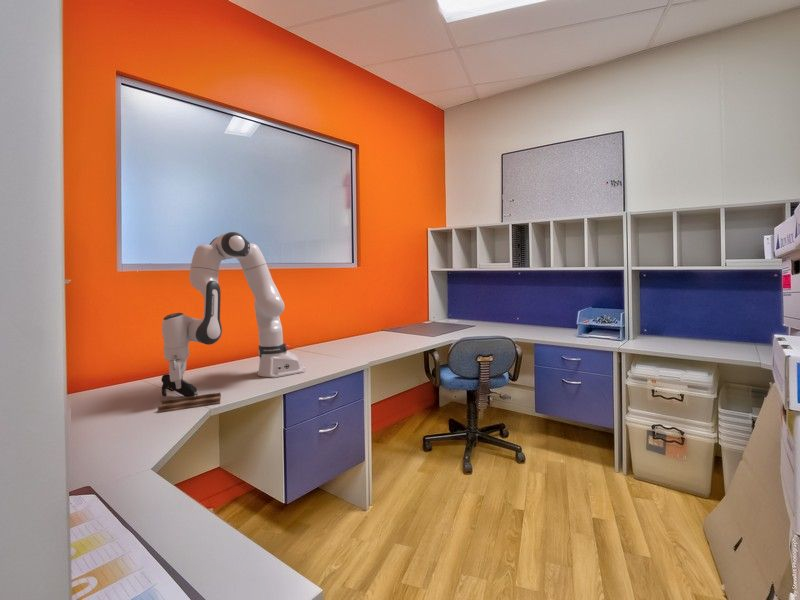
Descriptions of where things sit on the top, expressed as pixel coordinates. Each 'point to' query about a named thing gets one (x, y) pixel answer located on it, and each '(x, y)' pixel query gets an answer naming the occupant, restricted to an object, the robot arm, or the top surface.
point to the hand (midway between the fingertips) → (179, 386)
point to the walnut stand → (189, 402)
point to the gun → (185, 389)
